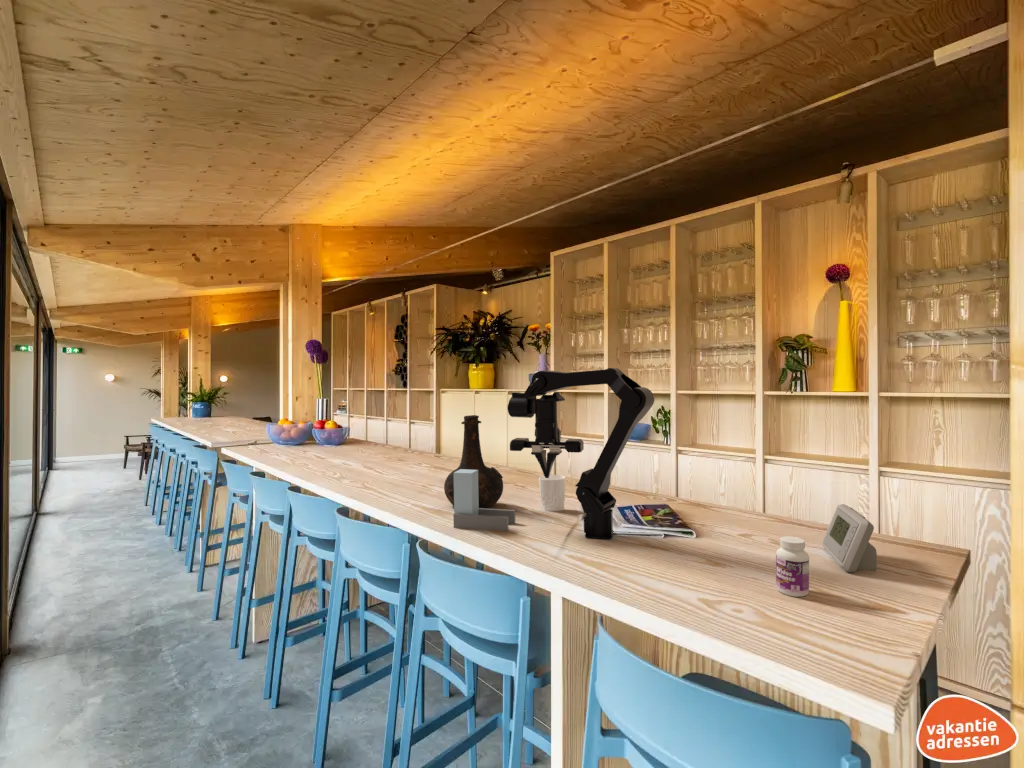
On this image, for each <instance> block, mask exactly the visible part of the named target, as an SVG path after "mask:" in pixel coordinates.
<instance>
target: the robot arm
mask: <svg viewBox="0 0 1024 768" xmlns="http://www.w3.org/2000/svg"><path fill="white" fill-rule="evenodd" d="M595 385H607V386H608V387H609V388H610V389H611V390H612V392H613V393H614V395H615V396H617V397H618V398H619V399H620V404H619V408H618V418H617V421H616V423H615V425H614V427H613V429H612V431H611V432H610V435H609V437H608V439H607V441H606V442H605V445H604V447H603V449H602V451H601V453H600V454H599V456H598V458H597V461H596V462H595V465H594V467H593V468H589V469H587V470H585V471H582V473H581V474H580V479H579V481H578V482H577V483H576V484H575V487H576V489H575V496H576V498H577V500H578V502H579V503H580V505H581V507H582V511H583V514H584V516H583V533H584V538H587V539H589V538H590V539H603V540H612V538H613V536H614V533H615V530H614V526H613V525H614V524H613V523H614V522H613V520H614V516H613V515H614V514H613V513H614V512H613V511H614V510H613V508H615V506H616V503H617V499H616V498H615V497H614V495H612V493H611V492H610V491H609V488H610V485H611V475H612V472H613V470H614V468H615V466H616V465H617V463H618V461H619V458H620V457H621V455H622V453H623V451H624V448H625V447H626V445H627V443H628V441H629V439H630V437H631V435H632V433H633V431H634V429H635V427H636V426H637V424H639V422H640V421H642V419H644V417H645V416H646V415H647V414H648V412H649V411H650V410H651V408H652V407H653V405H654V404H655V396H654V394H653V391H651V390H650V389H649V388H648V387H644V386H643V387H642V386H641V385H640V384H639V383H637V381H635V380H634V379H632V378H631V377H629V376H628V375H627V374H625V373H624V372H623V371H622V370H621V369H619V368H617V367H607V368H605V369H598V370H597V369H595V370H594V369H593V370H585V371H584V370H583V371H582V370H581V371H571V372H568V371H567V372H566V371H559V370H558V371H557V370H537V371H535V372H534V373H533V375H532V376H531V382H530V383H529V385H528V387H527V388H526V390H525V391H524V392H519V391H516V392H511V397H510V398H509V400H508V404H507V412H508V415H509V416H510V417H512V418H523V419H525V418H529V419H531V418H533V417H534V416H535V419H534V420H535V421H534V437H535V438H534V440H530V439H529V437H515V438H513V439H511V440H510V443H509V451H510V452H511V451H512V452H522V451H523V450H524V449H531V452H530V455H532V456H533V455H534V456H535V459H536V460H537V462H538V464H539V466H540V468H541V472H542V473H543V475H544V476H545V478H549V476H550V475H551V472H552V469H553V465H554V463H555V460H556V458H557V456H559V455H561V454H562V452H563V450H565V451H566V452H568V453H582V452H583V450H584V441H583V439H582V438H568V439H566V440H565V441H561V435H562V431H561V429H560V428H559V426H558V425H559V424H558V402H564V401H565V398H564V396H562V394H560V392H559V391H561V390H564V389H567V388H570V387H581V386H582V387H583V386H595ZM548 393H553V394H548ZM540 396H541V397H540ZM537 397H540V398H537ZM547 449H548V450H549V451H548V452H547ZM613 530H614V531H613ZM613 532H614V533H613Z"/></svg>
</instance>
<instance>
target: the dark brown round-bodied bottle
mask: <svg viewBox="0 0 1024 768" xmlns="http://www.w3.org/2000/svg"><path fill="white" fill-rule="evenodd" d="M479 416H480V415H476V414H471V415H464V416H463V421H461V423H460V424H462V425H463V441H462V442H463V444H462V445H463V446H462V452H461V461H460V464H459V466H458V467H457V468H456V469H454V470H452V471H451V472H450V473H449V474H448V475H447V477H446V478H445V481H444V484H443V489H444V495H445V497H446V499H447V500H448V501H449V503H450V504H451V505H452V506H454V472H456V471H458V470H460V469H468V470H478V497H479V508H487V509H490V508H492V507H493V506H494V505H496V504H497V503H498V502H499V500H500V498H501V497H502V496H503V493H504V492H503V491H504V481H503V478H504V477H503V475H502V474H501V473H500V472H499V471H498V470H497V469H496V468H495V467H493V466H491V467H488V466H487V465H486V464H485V463H484V459H483V454H482V449H481V441H480V430H479V429H480V427H479V424H482V421H481V420H479Z"/></svg>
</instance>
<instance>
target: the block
mask: <svg viewBox="0 0 1024 768" xmlns="http://www.w3.org/2000/svg"><path fill="white" fill-rule="evenodd" d="M453 509H454V510H453V511H454V512H453V514H455V513H456V514H473V515H479V497H478V470H468V469H460V470H458V471H456V472H454V505H453Z"/></svg>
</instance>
